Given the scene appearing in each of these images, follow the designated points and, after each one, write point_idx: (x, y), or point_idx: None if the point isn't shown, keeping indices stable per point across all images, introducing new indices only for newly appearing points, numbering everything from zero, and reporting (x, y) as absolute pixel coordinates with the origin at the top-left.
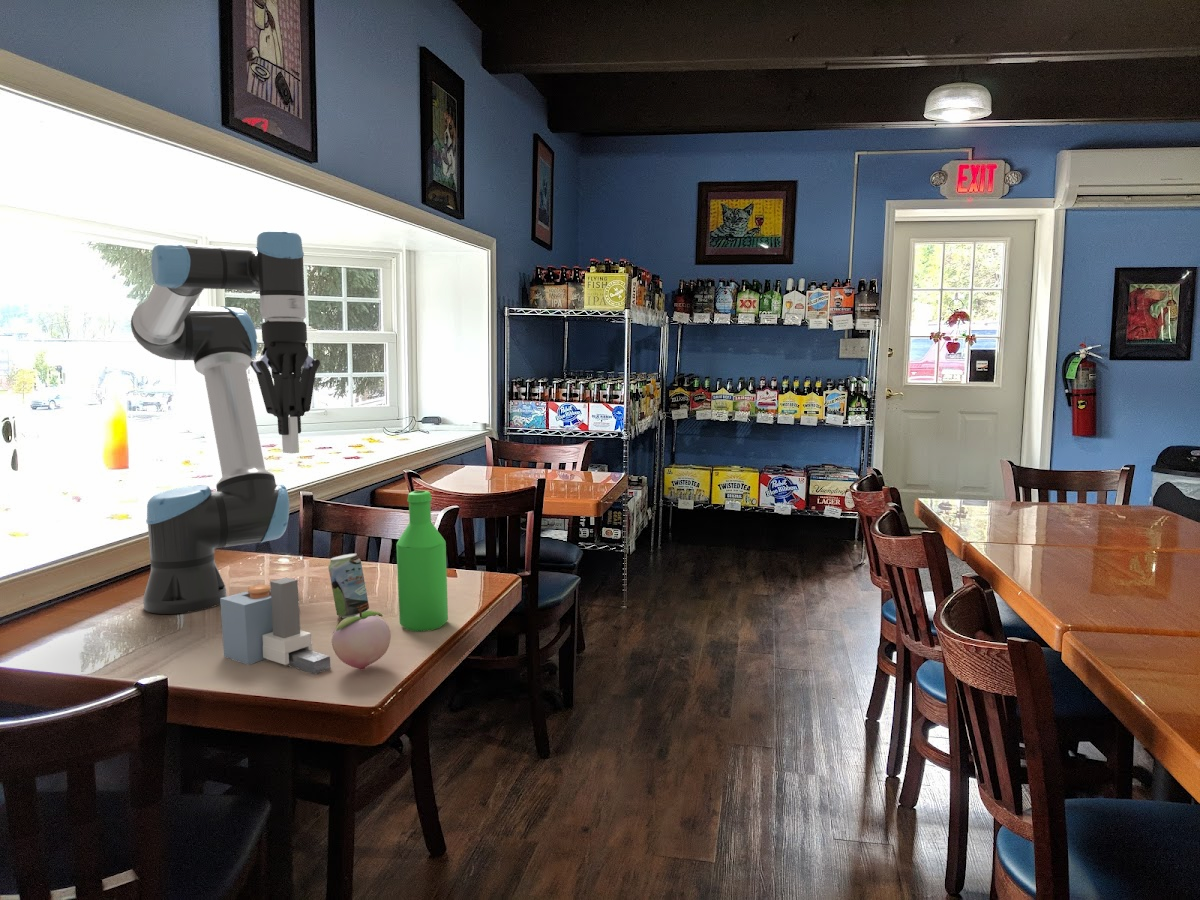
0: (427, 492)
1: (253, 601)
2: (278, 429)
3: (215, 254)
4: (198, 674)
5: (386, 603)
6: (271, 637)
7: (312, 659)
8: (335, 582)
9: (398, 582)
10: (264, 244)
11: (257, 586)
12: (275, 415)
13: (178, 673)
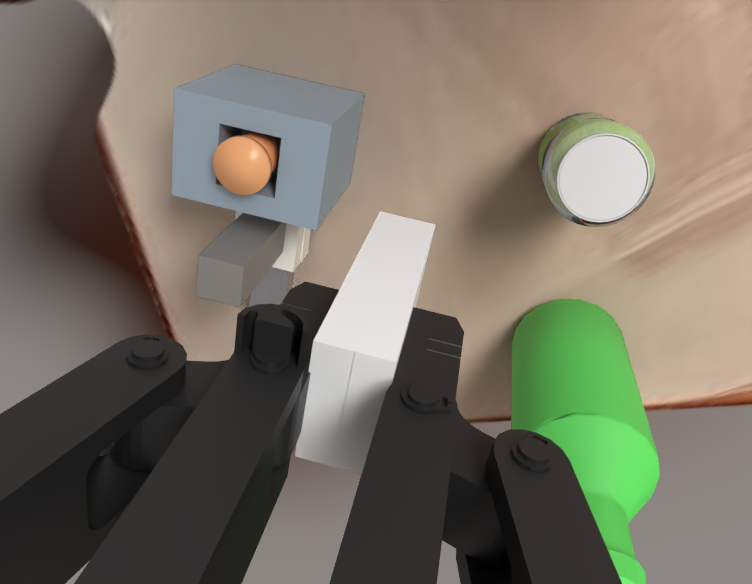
0: None
1: (200, 192)
2: (284, 302)
3: None
4: (149, 98)
5: (719, 164)
6: (236, 214)
7: (255, 300)
8: (543, 162)
9: (532, 365)
10: None
11: (244, 155)
12: (252, 329)
13: (130, 52)
